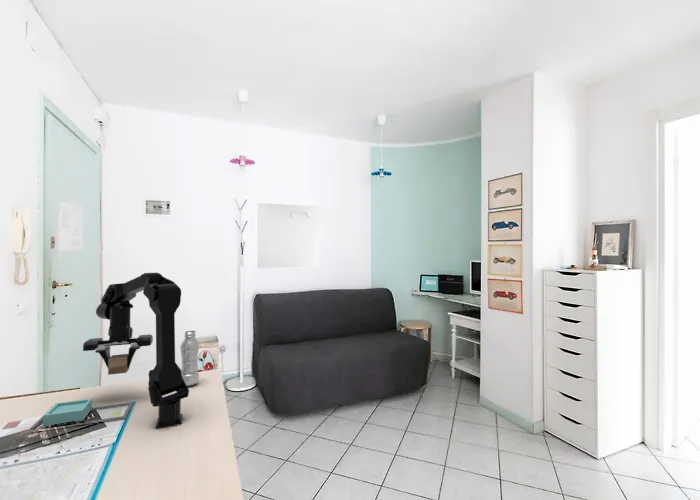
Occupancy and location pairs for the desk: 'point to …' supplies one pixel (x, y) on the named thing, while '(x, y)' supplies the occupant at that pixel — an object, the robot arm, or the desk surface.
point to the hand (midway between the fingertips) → (119, 368)
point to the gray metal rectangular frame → (97, 409)
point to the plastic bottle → (189, 358)
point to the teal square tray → (67, 412)
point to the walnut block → (118, 364)
